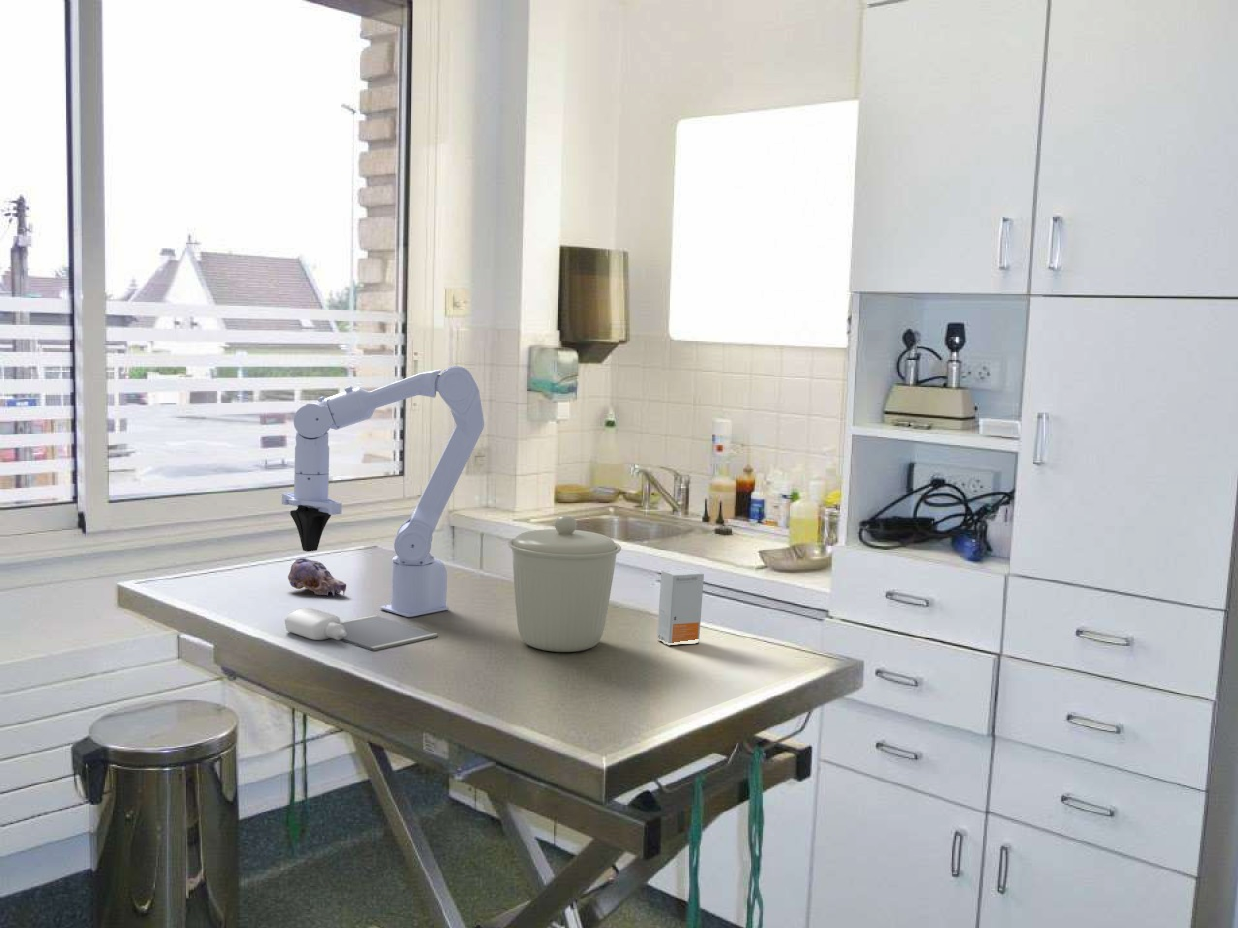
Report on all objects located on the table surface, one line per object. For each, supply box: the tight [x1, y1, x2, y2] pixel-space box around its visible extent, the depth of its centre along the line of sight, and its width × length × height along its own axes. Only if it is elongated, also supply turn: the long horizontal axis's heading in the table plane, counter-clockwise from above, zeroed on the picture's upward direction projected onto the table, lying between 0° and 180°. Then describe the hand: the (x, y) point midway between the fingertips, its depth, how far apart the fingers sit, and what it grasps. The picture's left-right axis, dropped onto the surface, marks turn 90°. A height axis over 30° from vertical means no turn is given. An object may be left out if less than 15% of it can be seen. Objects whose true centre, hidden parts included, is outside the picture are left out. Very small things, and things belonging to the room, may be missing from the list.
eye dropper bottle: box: [284, 607, 347, 641], centre depth 176 cm, size 4×6×12 cm
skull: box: [287, 557, 347, 597], centre depth 206 cm, size 12×8×6 cm, turn 54°
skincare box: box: [656, 568, 705, 643], centre depth 184 cm, size 6×4×12 cm
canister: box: [507, 515, 622, 653], centre depth 178 cm, size 18×18×21 cm
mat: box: [339, 614, 438, 652], centre depth 180 cm, size 13×16×1 cm
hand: (310, 550), depth 193 cm, fingers closed
